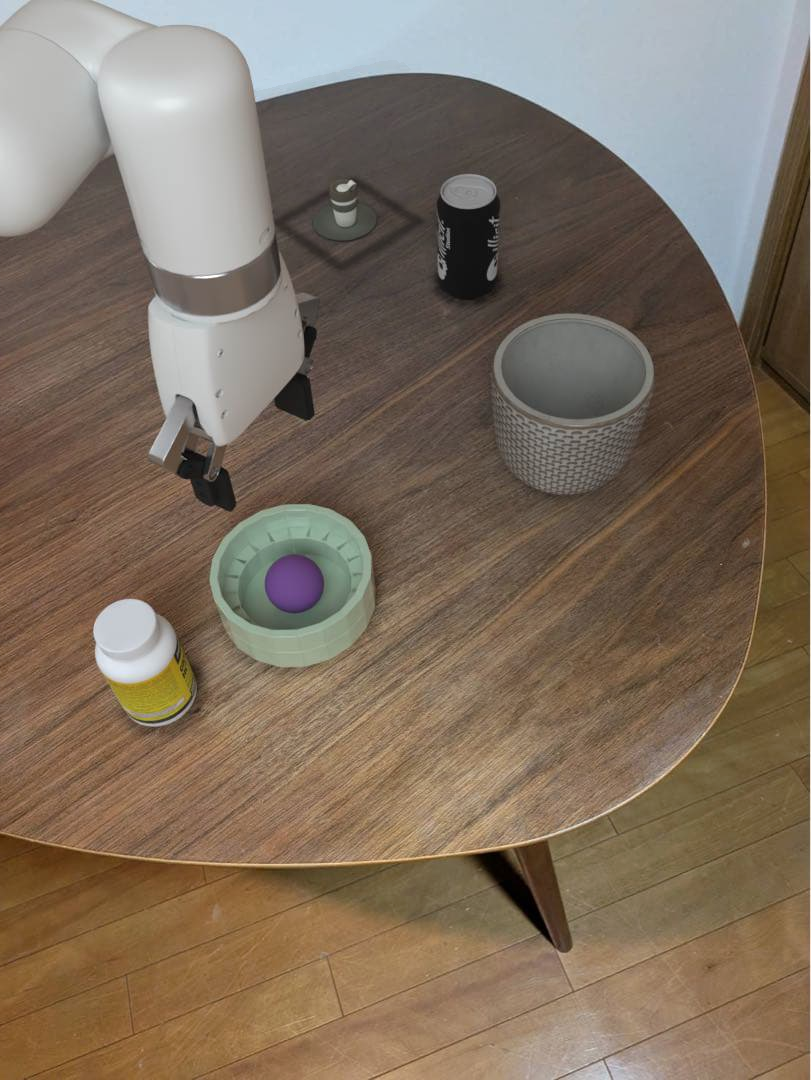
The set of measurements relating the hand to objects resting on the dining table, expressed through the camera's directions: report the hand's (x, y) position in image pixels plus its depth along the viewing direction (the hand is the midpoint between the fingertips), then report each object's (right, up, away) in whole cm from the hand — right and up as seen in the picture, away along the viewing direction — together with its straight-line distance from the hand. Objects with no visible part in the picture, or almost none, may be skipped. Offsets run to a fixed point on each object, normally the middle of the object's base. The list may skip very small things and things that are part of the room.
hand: (257, 455), depth 71 cm
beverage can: (+18, +22, +40) cm, 49 cm away
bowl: (+1, -12, +15) cm, 19 cm away
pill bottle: (-10, -19, +11) cm, 24 cm away
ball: (+1, -11, +15) cm, 19 cm away
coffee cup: (+4, +32, +47) cm, 57 cm away
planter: (+25, +1, +23) cm, 35 cm away
